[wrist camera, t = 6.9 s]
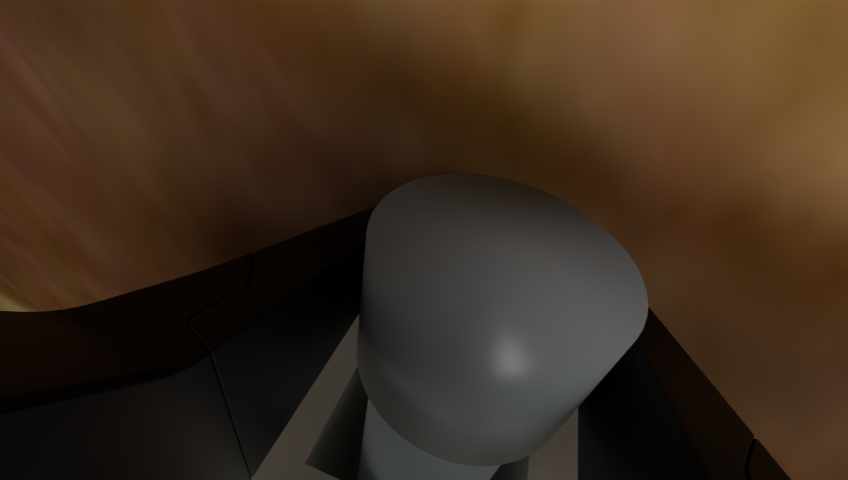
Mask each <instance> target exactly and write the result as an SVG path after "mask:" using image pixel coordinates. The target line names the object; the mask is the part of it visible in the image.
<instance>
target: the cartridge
mask: <svg viewBox="0 0 848 480" xmlns="http://www.w3.org/2000/svg"><path fill="white" fill-rule="evenodd" d="M647 314H648V298H647V291H646V288H645V284H644V281H643V278H642V276H641V274H640V272H639V270H638V268H637V266H636V265H635V263H634V261H633V260H632V258H631V257H630V255H629V254H628V253H627V252H626V250H625V249H624V248H623V247H622V245H621V244H620V243H619V242H618V241H617V240H616V239H615V238H614V237H613V236H612V235H611V234H610V233H609V232H608V231H607V230H605V229H604V228H603V227H602V226H601V225H600V224H598V223H597V222H596V221H594V220H593V219H592V218H590V217H589V216H588V215H586V214H585V213H583V212H581V211H580V210H578V209H577V208H575V207H574V206H572V205H570V204H568V203H566V202H564V201H563V200H561V199H559V198H557V197H554V196H552V195H550V194H548V193H546V192H543V191H541V190H538V189H536V188H533V187H530V186H527V185H524V184H521V183H518V182H514V181H510V180H506V179H502V178H497V177H492V176H485V175H476V174H441V175H434V176H428V177H424V178H420V179H416V180H413V181H411V182H408V183H405V184H403V185H401V186H400V187H398V188H396V189H394V190H393V191H391V192H390V193H389V194H387V195H386V196H385V197H384V198H383V199H382V200H381V201H380V202H379V203H378V205H377V206H376V208H375V209H374V210H373V212H372V214H371V217H370V219H369V222H368V227H367V233H366V243H365V255H364V267H363V278H362V290H361V301H360V313H359V324H358V336H357V364H358V370H359V375H360V378H361V381H362V384H363V387H364V389H365V391H366V393H367V395H368V397H369V398H368V405H367V412H366V419H365V426H364V433H363V440H362V447H361V454H360V462H359V469H358V476H357V480H490V479H491V477H492V476H493V475H494V473H495V472H496V471H497V469H498V468H499V467H500V465H503V464H507V463H511V462H515V461H518V460H520V459H522V458H524V457H527V456H529V455H531V454H532V453H534V452H535V451H537V450H538V449H540V448H541V447H543V446H544V445H545V444H546V443H547V442H548V441H549V440H550V439H551V438H552V437H553V435H554V434H555V433H556V432H557V431H558V430H559V429H560V427H561V426H562V425H563V424H564V423H565V422H566V420H567V419H568V418H569V417H570V416H571V415H572V414H573V412H574V411H575V410H576V409H577V408H578V407H579V406H580V404H581V403H582V402H583V401H584V400H585V399H586V397H587V396H588V395H589V394H590V393H591V392H592V391H593V389H594V388H595V387H596V386H597V385H598V384H599V382H600V381H601V380H602V379H603V378H604V377H605V376H606V374H607V373H608V372H609V371H610V370H611V369H612V368H613V366H614V365H615V364H616V363H617V362H618V361H619V359H620V358H621V357H622V356H623V355H624V354H625V353H626V351H627V350H628V349H629V348H630V347H631V346H632V344H633V343H634V342H635V341H636V340H637V338H638V337H639V335H640V333H641V332H642V330H643V328H644V325H645V322H646V319H647Z"/></svg>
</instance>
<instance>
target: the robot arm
mask: <svg viewBox="0 0 848 480" xmlns="http://www.w3.org/2000/svg"><path fill="white" fill-rule="evenodd" d="M375 208H376V206H375V207H372V208H369V209H367V210H364V211H361V212H359V213H356V214H354V215H351V216H348V217H346V218H343V219H340V220H338V221H335V222H332V223H330V224H327V225H324V226H322V227H319V228H316V229H314V230H311V231H309V232H306V233H303V234H301V235H298V236H295V237H293V238H290V239H287V240H285V241H282V242H279V243H277V244H274V245H271V246H269V247H266V248H264V249H261V250H258V251H256V252H255V255H254V254H253V253H250V254H247V255H245V256H242V257H239V258H237V259H234V260H231V261H228V262H226V263H223V264H220V265H217V266H214V267H211V268H209V269H206V270H202V271H199V272H196V273H193V274H190V275H186V276H183V277H180V278H177V279H174V280H170V281H167V282H163V283H160V284H157V285H153V286H150V287H146V288H143V289H140V290H136V291H133V292H129V293H126V294H123V295H119V296H116V297H112V298H109V299H106V300H102V301H99V302H95V303H92V304H88V305H84V306H80V307H75V308H69V309H64V310H55V311H43V312H14V311H0V480H251V477H253V476H254V475H255V473H256V471H257V470H258V468H259V467H260V465H261V464H262V462H263V461H264V459H265V458H266V456H267V455H268V453H269V452H270V450H271V448H272V447H273V445H274V444H275V442H276V441H277V439H278V438H279V436H280V435H281V433H282V432H283V430H284V428H285V427H286V425H287V424H288V422H289V421H290V419H291V418H292V416H293V415H294V413H295V412H296V410H297V408H298V407H299V405H300V404H301V402H302V401H303V399H304V398H305V396H306V395H307V393H308V392H309V390H310V389H311V387H312V385H313V384H314V382H315V381H316V379H317V378H318V376H319V375H320V373H321V372H322V370H323V369H324V367H325V365H326V364H327V362H328V361H329V359H330V358H331V356H332V355H333V353H334V352H335V350H336V349H337V347H338V346H339V344H340V342H341V341H342V339H343V338H344V336H345V335H346V333H347V332H348V330H349V329H350V327H351V326H352V324H353V322H354V321H355V319H356V318H357V316H358V315H359V313H360V301H361V290H362V278H363V267H364V255H365V243H366V233H367V227H368V222H369V219H370V217H371V214H372V212H373V210H374V209H375ZM753 438H754V435H753V433H752V432H751V431H750V429H749V428H748V427H747V426H746V425H745V423H744V422H743V421H742V420H741V419H740V417H739V416H738V415H737V414H736V412H735V411H734V410H733V409H732V408H731V406H730V405H729V404H728V403H727V401H726V400H725V399H724V398H723V397H722V395H721V394H720V393H719V392H718V391H717V389H716V388H715V387H714V386H713V384H712V383H711V382H710V381H709V380H708V378H707V377H706V376H705V375H704V374H703V372H702V371H701V370H700V369H699V367H698V366H697V365H696V364H695V363H694V361H693V360H692V359H691V358H690V356H689V355H688V354H687V353H686V352H685V350H684V349H683V348H682V347H681V346H680V344H679V343H678V342H677V341H676V339H675V338H674V337H673V336H672V335H671V333H670V332H669V331H668V330H667V329H666V327H665V326H664V325H663V324H662V322H661V321H660V320H659V319H658V318H657V316H656V315H655V314H654V313H653V311H652V310H651V309H650V308H649V307H648V314H647V319H646V322H645V325H644V328H643V330H642V332H641V333H640V335H639V337H638V338H637V340H636V341H635V342H634V343H633V344H632V346H631V347H630V348H629V349H628V350H627V351H626V353H625V354H624V355H623V356H622V357H621V358H620V359H619V361H618V362H617V363H616V364H615V365H614V366H613V368H612V369H611V370H610V371H609V372H608V373H607V374H606V376H605V377H604V378H603V379H602V380H601V381H600V382H599V384H598V385H597V386H596V387H595V388H594V389H593V391H592V392H591V393H590V394H589V395H588V396H587V397H586V399H585V400H584V401H583V402H582V403H581V404H580V406H579V407H578V480H791V479H790V478H789V476H788V475H787V474H786V473H785V472H784V470H783V469H782V468H781V467H780V466H779V465H778V463H777V462H776V461H775V460H774V459H773V457H772V456H771V455H770V454H769V452H768V451H767V450H766V449H765V448H764V446H763V445H762V444H761V443H760V441H759V440H757V439H753Z"/></svg>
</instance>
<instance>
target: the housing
mask: <svg viewBox="0 0 848 480" xmlns="http://www.w3.org/2000/svg"><path fill="white" fill-rule="evenodd" d="M358 324H359V315H358V316H357V318H356V319H355V321H354V322H353V324H352V326H351V327H350V329H349V330H348V332H347V333H346V335H345V336H344V338H343V339H342V341H341V342H340V344H339V346H338V347H337V349H336V350H335V352H334V353H333V355H332V356H331V358H330V359H329V361H328V362H327V364H326V365H325V367H324V369H323V370H322V372H321V373H320V375H319V376H318V378H317V379H316V381H315V382H314V384H313V385H312V387H311V389H310V390H309V392H308V393H307V395H306V396H305V398H304V399H303V401H302V402H301V404H300V405H299V407H298V408H297V410H296V412H295V413H294V415H293V416H292V418H291V419H290V421H289V422H288V424H287V425H286V427H285V428H284V430H283V432H282V433H281V435H280V436H279V438H278V439H277V441H276V442H275V444H274V445H273V447H272V448H271V450H270V452H269V453H268V455H267V456H266V458H265V459H264V461H263V462H262V464H261V465H260V467H259V468H258V470H257V471H256V473H255V475H254V476H253V477H251V480H357V476H358V469H359V462H360V454H361V447H362V440H363V433H364V426H365V419H366V412H367V405H368V398H369V397H368V395H367V393H366V391H365V389H364V387H363V384H362V381H361V378H360V375H359V370H358V364H357V336H358ZM490 480H578V408H577V409H576V410H575V411H574V412H573V414H572V415H571V416H570V417H569V418H568V419H567V420H566V422H565V423H564V424H563V425H562V426H561V427H560V429H559V430H558V431H557V432H556V433H555V434H554V435H553V437H552V438H551V439H550V440H549V441H548V442H547V443H546V444H545V445H544V446H543V447H541V448H540V449H538V450H537V451H535V452H534V453H532V454H531V455H529V456H527V457H524V458H522V459H520V460H518V461H515V462H511V463H507V464H503V465H500V467H499V468H498V469H497V471H496V472H495V473H494V475H493V476H492V477H491V479H490Z"/></svg>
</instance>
